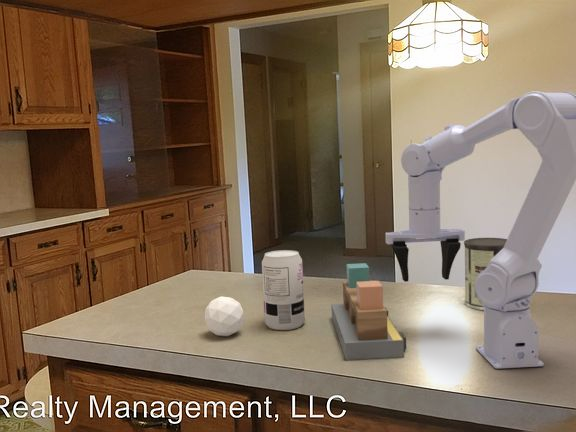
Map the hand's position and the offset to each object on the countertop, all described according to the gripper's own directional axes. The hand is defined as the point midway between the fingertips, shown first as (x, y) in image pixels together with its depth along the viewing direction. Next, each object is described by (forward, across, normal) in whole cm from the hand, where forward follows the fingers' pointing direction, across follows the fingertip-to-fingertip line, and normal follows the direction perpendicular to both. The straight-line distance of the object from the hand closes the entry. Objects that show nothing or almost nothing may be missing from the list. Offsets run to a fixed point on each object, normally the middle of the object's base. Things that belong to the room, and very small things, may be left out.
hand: (425, 279), depth 112 cm
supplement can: (+11, +27, -9) cm, 30 cm away
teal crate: (+2, +12, -8) cm, 14 cm away
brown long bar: (+7, +12, 0) cm, 14 cm away
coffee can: (+11, -18, -16) cm, 26 cm away
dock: (+10, +12, 0) cm, 16 cm away
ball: (+11, +39, -5) cm, 41 cm away
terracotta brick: (+2, +12, +8) cm, 14 cm away
